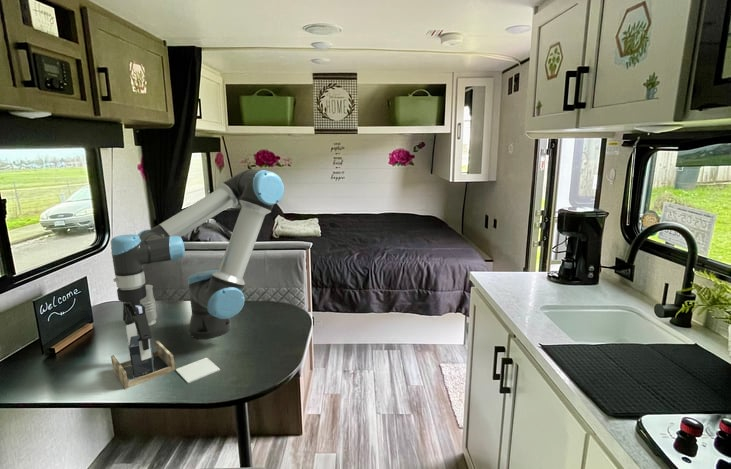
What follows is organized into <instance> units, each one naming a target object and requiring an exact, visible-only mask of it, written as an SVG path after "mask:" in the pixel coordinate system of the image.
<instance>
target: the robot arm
mask: <svg viewBox="0 0 731 469" xmlns="http://www.w3.org/2000/svg"><path fill="white" fill-rule="evenodd" d="M284 193H285V186H284V182H283V180H282V178H281V177H280V176H279V175H278V173H277V174H276V172H273V171H270V170H266V169H262V170H261V169H246V170H243V171H241V172H239V173H237V174H235V175H234V176H231V177H230V178H229V179H227V180H226V181H224V182H222V183H220V186H219V188H217V189H216V190H214V191H212V192H211V193H209V194H207V195H206V196H204V197H203V198H201V199H199V200H197V201H196V202H194V203H192V204H191V205H189V206H187V207H186V208H184V209H183V210H181V211H179V212H177V213H176V214H174V215H173V216H171V217H169V218H168V219H166V220H164V221H162V222H161V223H159V224H158V225H156V226H154V227H153V228H151V229H144V230H142V231H140V232H139V233H138V234H131V233H130V234H120V235H117V236H114V237H112V239H111V241H110V246H111V256H112V264H113V270H114V277H115V278H113V282H114V283H115V285H116V288H117V289H116V293H117V294H116V295H117V300H118V302H120V303H122V321H124V325H125V330H126V338H127V344H128V345H130V339H131V338H130V337H132V336H138V335H139V339H138V340H137V341H138V342H139V347H140V355H141V360H145V359H148V358H151V357H152V356H151V348H150V338H151V339H152V337H153V336H152V334H151V330H150V326H149V325H148V321H147V317H146V312H145V307H144V306H143V305H142V304H141V303H140V300H141V299H143V298H145V297H146V295H147V293H146V286H145V285H146V277H145V269H144V266H146V265H151V264H156V263H157V264H158V263H164V262H169V261H174V260H179V259H183V257H184V256H185V253H186V252H185V250H186V248H185V244H184V243H185V242H184V241H183V239H182V237H184V236H186V235H187V234H188V233H190V232H192V231H194V230H195V229H197V228H199V226H201V225H203V224H205V223H206V222H208V221H209V220H211V219H212V218H214V217H216V216H217V215H219V214H220V213H222V212H223V211H225V210H226V209H228V208H230V207H231V206H234V207H235V206H238V205H239V204H240V205H241V208H240V211H239V213H238V216H237V219H236V222H235V224H234V228H233V230H232V233H231V236H230V239H229V241H228V244H227V246H226V250H225V251H224V254H223V258H222V260H221V263H220V265H219V269H218V270H217V269H215V270H214V269H213V270H211V269H210V270H204V271H198V272H195V273H192V274H191V275H189V276H188V278H187V281H188V282H187V286H188V292H189V300H190V310H191V315H190V319H189V324H188V334H189V336H190V337H191V338H194V339H202V340H203V339H212V338H215V337H219V336H222V335H224V334H225V333H228V332H229V330H231V327H232V324H231V322H232V321H231V318H233V317H234V316H237V315H238V314H239V313H240V312H241V310H242V309H243V307H244V305H245V299H246V298H245V295H244V293H243V290H244V287H245V285H246V282H245V280H244V279H243V278H244V274H245V272H246V269H247V267H248V264H249V261H250V258H251V255H252V252H253V250H254V247H255V244H256V242H257V239H258V236H259V233H260V231H261V228H262V225H263V222H264V220H265V217H266V215H268V214H270V213H272V210H273V207H274V205H276V204H278V203H279V202H280V201H281V200H282V199H283V197H284ZM144 335H145V336H144Z"/></svg>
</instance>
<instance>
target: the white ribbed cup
mask: <svg viewBox="0 0 731 469" xmlns="http://www.w3.org/2000/svg"><path fill="white" fill-rule="evenodd" d="M144 285H145V286H146V293H147V295H146V297H145V298H143V299H141V300H140V303H141V304H142V305H143V306H144V307H145V312H146V317H147V321H148V325H149V327H151V326H152V325H154V324H156V323H157V320H156V318H158V314H157V306H156V300H155V297H154V291H153V287H154V286H153V285H152V284H144Z"/></svg>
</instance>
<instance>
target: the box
mask: <svg viewBox="0 0 731 469" xmlns="http://www.w3.org/2000/svg"><path fill="white" fill-rule="evenodd" d="M144 336H145V335H144ZM130 338H131V339H130V345H129V344H128V345H129V346H128V351H129V352H128V353H129V360H131V365H130V366H131V372H132V379H136V378H139V377H142V376H144V375H147V374H150V373H152V372H154V366H155V359H154V358H155V357H153V352H154V351H153V345H152V338H150V348H151V356H152V357H151V358H148V359H145V360H141V355H140V347H139V342H138V341H137V340H138V339H139V335H138V334H137V336H132V337H130Z"/></svg>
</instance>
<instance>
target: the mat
mask: <svg viewBox="0 0 731 469" xmlns="http://www.w3.org/2000/svg"><path fill="white" fill-rule="evenodd" d="M175 371H176V372H177V374H178V375H179V376H180V377H181V379H183V380H184V381H185V382H186V383H187V384H190V383H192V382H195V381H198V380H200V379H202V378H205V377H207V376H209V375H212V374H215V373H217V372H219V371H221V369H220V368H219V367H218V366H217V365H216V364H215V363H214V362H213V361H212V360H210V359H209V358H208V357H204V358H202V359H198V360H196V361H193V362H192V363H189V364H185V365H183V366H180V367H177V368H175Z"/></svg>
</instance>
